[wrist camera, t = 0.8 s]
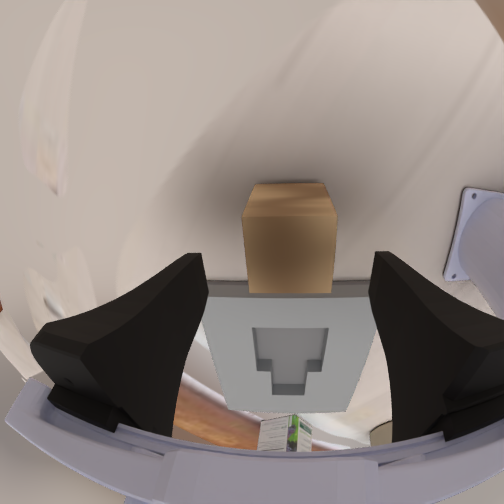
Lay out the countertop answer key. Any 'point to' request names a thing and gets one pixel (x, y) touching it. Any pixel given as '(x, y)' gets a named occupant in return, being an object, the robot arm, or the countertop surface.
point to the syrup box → (285, 435)
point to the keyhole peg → (290, 238)
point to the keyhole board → (288, 346)
